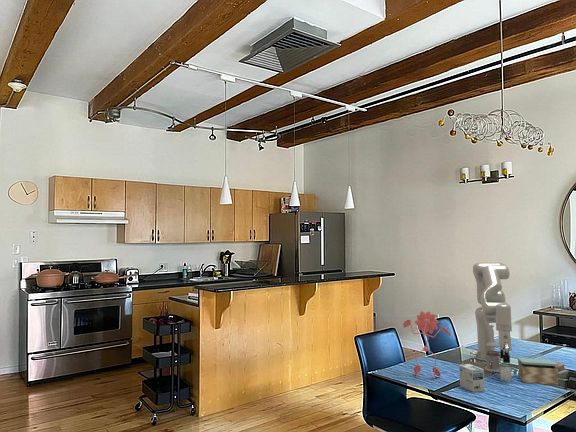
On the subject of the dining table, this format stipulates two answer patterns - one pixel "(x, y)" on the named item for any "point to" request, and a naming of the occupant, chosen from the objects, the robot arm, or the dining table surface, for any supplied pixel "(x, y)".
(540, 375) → the storage box
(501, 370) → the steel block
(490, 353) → the french press
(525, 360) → the lid
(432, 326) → the figurine
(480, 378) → the light bulb box
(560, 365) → the packaged product
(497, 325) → the robot arm
